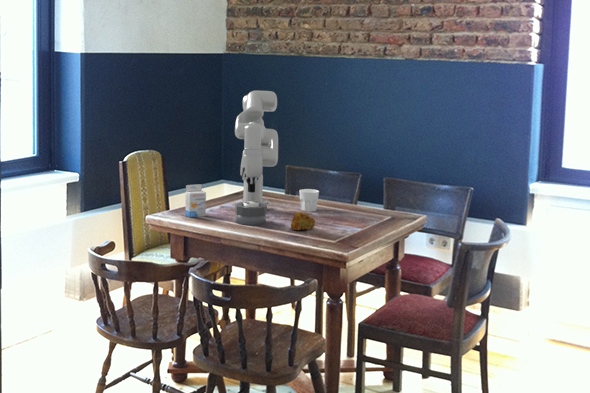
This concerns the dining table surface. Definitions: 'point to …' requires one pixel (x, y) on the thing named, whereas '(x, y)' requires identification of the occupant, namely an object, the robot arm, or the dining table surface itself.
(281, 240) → the dining table surface
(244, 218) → the grey stepped puck
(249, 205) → the cap
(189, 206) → the ink box
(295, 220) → the rock
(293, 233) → the dining table surface
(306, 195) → the cup
